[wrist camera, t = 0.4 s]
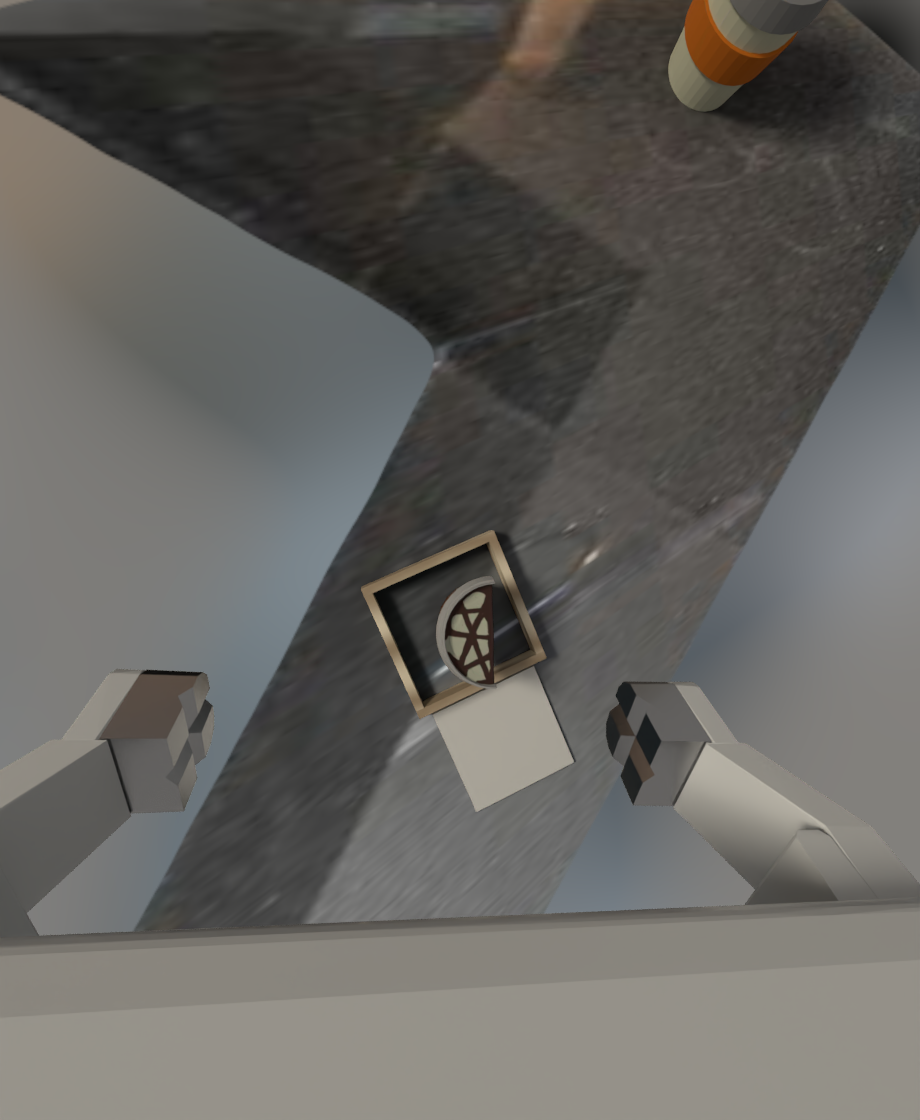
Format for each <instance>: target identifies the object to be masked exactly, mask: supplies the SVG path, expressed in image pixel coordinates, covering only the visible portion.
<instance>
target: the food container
mask: <svg viewBox="0 0 920 1120" xmlns="http://www.w3.org/2000/svg"><path fill="white" fill-rule="evenodd" d="M492 584H495V582H494V579H493V578H492V577H491V576H487V577H481V578H477V579H474V580H472V581H470V582H468V583H466V584H464V585H463V586H461V587H459V588H457V589H456V590H454V591H453V592H452V593H451V594H450V595H449V596H447V598H446V600H445V601H444V603H443V605H442V606H441V609H440V613H439V617H438V622H437V628H436V639H437V646H438V649H439V653H440V655H441V657H442V659H443V661H444V663H445V664H446V666H447V667H448V668H449V669H450V670H451V672H452V673H453V674H454V675H456V676H457V677H458V678H460V679H461V680H463V681H465V682H467V683H469V684H471V685H474V686H477V687H480V688H486V689H496V688H497V686H496V684H495V683H494V631H493V604H492Z"/></svg>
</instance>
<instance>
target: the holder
mask: <svg viewBox="0 0 920 1120" xmlns="http://www.w3.org/2000/svg"><path fill="white" fill-rule="evenodd" d="M485 543H486V545H487V547H488V549H489V552H490V554H491V556H492V559H493V561H494V564H495V566H496V568H497V571H498V573H499V576H500V578H501V580H502V583H503V585H504V588H505V590H506V592H507V595H508V597H509V599H510V602H511V604H512V607H513V609H514V611H515V614H516V616H517V619H518V621H519V623H520V626H521V628H522V630H523V633H524V635H525V638H526V640H527V642H528V645H529V647H530V650H529V651H526V652H524V653H522V654H520V655H518V656H516V657H514V658H512V659H510V660H508V661H505V662H503V663H501V664H499V665H497V666H495V667H494V683H496V682H498V681H500V680H502V679H504V678H506V677H508V676H510V675H512V674H515V673H517V672H519V671H521V670H523V669H525V668H527V667H529V666H531V665H533V664H535V663H537V662H540V661H542V660H544V659H546V658H547V657H546V655H545V653H544V650H543V648H542V645H541V643H540V641H539V638H538V636H537V633H536V631H535V629H534V626H533V624H532V621H531V619H530V617H529V614H528V612H527V609H526V607H525V604H524V602H523V600H522V597H521V595H520V592H519V590H518V588H517V585H516V583H515V580H514V578H513V576H512V573H511V571H510V568H509V566H508V564H507V561H506V559H505V556H504V554H503V552H502V549H501V547H500V544H499V542H498V540H497V537H496V535H495V532H494V531H487V532H485V533H483V534H480V535H478V536H476V537H474V538H471V539H469V540H467V541H464V542H462V543H460V544H458V545H455V546H453V547H451V548H448V549H446V550H444V551H442V552H439V553H437V554H435V555H433V556H430V557H428V558H426V559H423V560H421V561H419V562H417V563H414V564H412V565H410V566H407V567H405V568H403V569H401V570H398V571H396V572H394V573H392V574H389V575H387V576H385V577H382V578H380V579H378V580H376V581H373V582H371V583H369V584H366V585H364V586H362V587H361V591H362V593H363V595H364V597H365V599H366V602H367V604H368V606H369V608H370V610H371V613H372V615H373V617H374V619H375V621H376V624H377V626H378V628H379V630H380V632H381V635H382V637H383V639H384V641H385V644H386V646H387V648H388V650H389V652H390V655H391V657H392V659H393V661H394V663H395V666H396V668H397V670H398V672H399V674H400V677H401V679H402V681H403V683H404V685H405V688H406V690H407V692H408V694H409V696H410V699H411V701H412V703H413V705H414V707H415V710H416V712H417V714H418V716H419V718H420V719H421V718H423V717H425V716H427V715H429V714H431V713H433V712H435V711H437V710H440V709H442V708H444V707H446V706H448V705H450V704H452V703H454V702H456V701H458V700H460V699H462V698H465V697H467V696H469V695H471V694H473V693H475V692H477V691H479V690H481V689H483V688H480V687H477V686H474V685H471V684H469V683H467V682H465V681H463V682H461V683H459V684H457V685H455V686H453V687H451V688H449V689H447V690H444V691H442V692H440V693H438V694H436V695H434V696H432V697H430V698H428V699H426V700H423V701H422V699H421V697H420V695H419V693H418V690H417V688H416V686H415V684H414V681H413V679H412V677H411V675H410V673H409V670H408V668H407V666H406V664H405V662H404V659H403V657H402V655H401V653H400V650H399V648H398V646H397V644H396V642H395V639H394V637H393V635H392V633H391V630H390V628H389V626H388V624H387V622H386V619H385V617H384V615H383V613H382V611H381V608H380V606H379V604H378V602H377V599H376V597H375V595H374V592H377V591H379V590H381V589H383V588H386V587H388V586H390V585H392V584H395V583H397V582H399V581H401V580H404V579H406V578H408V577H410V576H413V575H415V574H417V573H420V572H422V571H424V570H426V569H429V568H431V567H433V566H435V565H438V564H440V563H442V562H444V561H447V560H449V559H451V558H453V557H456V556H458V555H460V554H463V553H465V552H467V551H469V550H472V549H474V548H476V547H478V546H481V545H483V544H485Z"/></svg>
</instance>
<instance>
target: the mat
mask: <svg viewBox="0 0 920 1120" xmlns="http://www.w3.org/2000/svg"><path fill="white" fill-rule="evenodd" d="M495 684H496V686H497V688H496V689H486V688H485V689H482V690H480V691H478V692H476V693H474V694H472V695H470V696H468V697H466V698H464V699H462V700H460V701H457V702H455V703H453V704H451V705H449V706H447V707H445V708H443V709H441V710H439V711H437V712H435V713H432V714H433V716H434V718H435V721H436V723H437V725H438V727H439V730H440V732H441V734H442V736H443V738H444V741H445V743H446V745H447V747H448V750H449V752H450V754H451V756H452V758H453V761H454V763H455V765H456V767H457V770H458V772H459V774H460V776H461V778H462V781H463V783H464V785H465V787H466V790H467V792H468V794H469V796H470V798H471V801H472V803H473V805H474V807H475V810H476V812H478V811H480V810H482V809H484V808H486V807H488V806H490V805H492V804H493V803H495V802H497V801H499V800H501V799H503V798H505V797H507V796H509V795H511V794H513V793H515V792H517V791H519V790H521V789H523V788H525V787H527V786H529V785H531V784H533V783H535V782H537V781H538V780H540V779H542V778H544V777H546V776H548V775H550V774H552V773H554V772H556V771H558V770H560V769H562V768H564V767H566V766H568V765H570V764H572V763H574V761H573V758H572V756H571V753H570V751H569V749H568V746H567V744H566V742H565V739H564V737H563V734H562V732H561V730H560V727H559V725H558V723H557V720H556V718H555V715H554V713H553V711H552V708H551V706H550V703H549V701H548V699H547V696H546V694H545V692H544V689H543V687H542V684H541V682H540V680H539V677H538V675H537V672H536V670H535V668H534V666H533V665H532V666H530V667H528V668H526V669H524V670H522V671H520V672H518V673H516V674H514V675H512V676H510V677H507V678H505V679H503V680H501V681H499V682H497V683H495Z"/></svg>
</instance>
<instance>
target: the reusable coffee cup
mask: <svg viewBox="0 0 920 1120" xmlns="http://www.w3.org/2000/svg"><path fill="white" fill-rule="evenodd" d="M827 1H828V0H693V1H692V3H691V5H690V7H689V10H688V13H687V16H686V21H685V27H684V29H683V31H682V33H681V35H680V37H679V39H678V42H677V44H676V46H675V48H674V50H673V52H672V55H671V57H670V60H669V67H668V72H669V80H670V84H671V86H672V89H673V91H674V93H675V94H676V96H677V97H678V98H679V100H680V101H681V102H682V103H684V104H685V105H686V106H688V107H689V108H691V109H693V110H697V111H703V112H706V111H712V110H714V109H717V108H718V107H720V106H721V105H722V104H723V103H724V102H725V101H726V100H727V99H728V98H729V97H731V96H732V95H733V94H734V93H735V92H736V91H737V90H738V89H739V88H740V87H741V86H742V85H743V84H745V83H748V82H749V81H751V80H752V79H754V78H755V77H756V76H757V75H758V74H759V73H760V72H762V71H763V70H764V69H765V68H766V67H767V66H768V65H769V64H770V63H771V62H772V61H773V60H774V59H775V58H776V57H777V56H778V55H779V54H780V53H781V52H782V51H783V50H784V49H785V48H786V47H787V46H788V45H789V44H790V43H791V42H792V41H793V39H794V38H795V36H796V34H797V33H798V31H799V30H801V29H803V28H804V27H806V26H807V25H809V24H810V23H811V22H812V21H813V20H814V19H815V18H816V16H817V15H818V14H819V12H820V11H821V10H822V8H823V7H824V5H825V4H826V3H827Z"/></svg>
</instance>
